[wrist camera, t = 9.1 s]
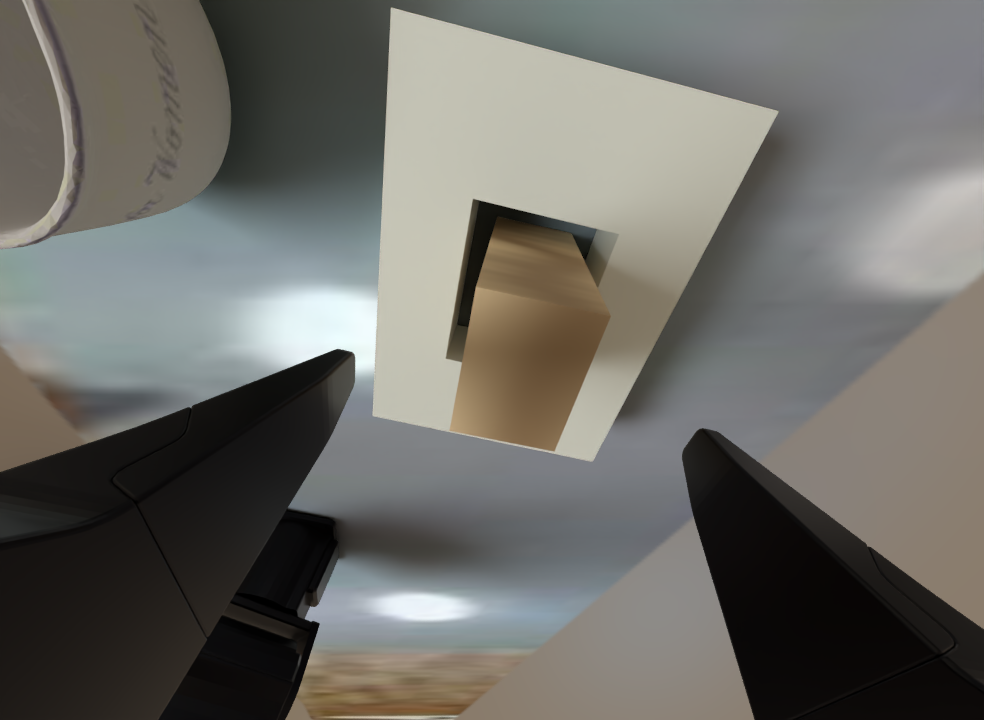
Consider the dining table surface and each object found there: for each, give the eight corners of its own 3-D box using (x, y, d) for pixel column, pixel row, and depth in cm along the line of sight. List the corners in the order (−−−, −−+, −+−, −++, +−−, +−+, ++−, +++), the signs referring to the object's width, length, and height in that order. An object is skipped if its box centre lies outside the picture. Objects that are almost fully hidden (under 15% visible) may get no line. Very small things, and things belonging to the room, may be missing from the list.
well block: (392, 377, 22) (372, 415, 19) (419, 35, 13) (391, 7, 10) (583, 418, 23) (592, 461, 20) (725, 115, 14) (778, 111, 11)
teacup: (174, 246, 19) (-26, 311, 12) (-74, -5, 14) (-639, -136, 7) (383, 71, 14) (255, 14, 7) (123, -384, 9) (-883, -1683, 3)
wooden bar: (478, 313, 19) (449, 430, 12) (497, 216, 17) (475, 286, 9) (542, 326, 19) (554, 451, 12) (571, 233, 17) (611, 315, 9)
